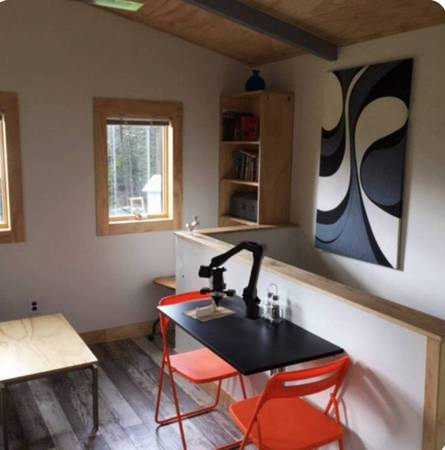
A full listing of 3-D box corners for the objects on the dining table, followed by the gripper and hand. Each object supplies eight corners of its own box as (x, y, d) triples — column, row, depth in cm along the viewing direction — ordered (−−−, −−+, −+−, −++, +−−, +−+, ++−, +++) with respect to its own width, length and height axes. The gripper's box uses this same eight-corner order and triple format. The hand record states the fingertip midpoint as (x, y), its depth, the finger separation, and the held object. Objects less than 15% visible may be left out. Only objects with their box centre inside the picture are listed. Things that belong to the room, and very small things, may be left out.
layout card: (236, 313, 280) (236, 312, 280) (202, 322, 264) (202, 321, 264) (214, 305, 292) (214, 304, 292) (181, 313, 277) (181, 312, 276)
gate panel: (215, 307, 286) (215, 298, 286) (214, 312, 277) (214, 304, 276) (212, 307, 286) (212, 298, 286) (210, 312, 277) (210, 303, 276)
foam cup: (226, 296, 309) (227, 275, 307) (218, 300, 302) (218, 278, 300) (213, 293, 314) (213, 272, 312) (204, 297, 306) (205, 275, 305)
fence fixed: (214, 315, 276) (215, 304, 275) (197, 319, 268) (197, 309, 267) (212, 314, 277) (212, 303, 276) (194, 318, 269) (195, 308, 268)
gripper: (238, 277, 285) (238, 305, 287) (206, 274, 291) (206, 302, 293) (232, 281, 275) (232, 310, 276) (199, 279, 280) (199, 307, 282)
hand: (217, 307), depth 282 cm, fingers closed
